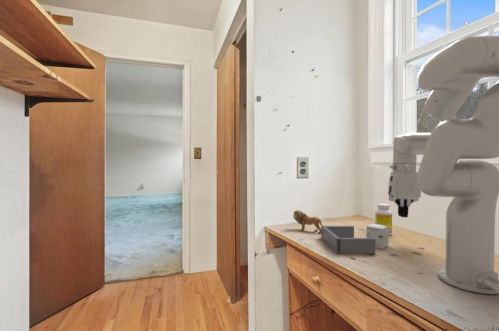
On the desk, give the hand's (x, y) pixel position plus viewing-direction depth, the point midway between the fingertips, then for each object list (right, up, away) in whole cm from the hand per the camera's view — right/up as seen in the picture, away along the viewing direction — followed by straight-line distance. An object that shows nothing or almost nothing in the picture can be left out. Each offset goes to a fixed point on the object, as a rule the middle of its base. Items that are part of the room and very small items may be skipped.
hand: (402, 216), depth 96 cm
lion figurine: (-32, -11, +18) cm, 38 cm away
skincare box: (-10, -11, -1) cm, 15 cm away
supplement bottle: (+1, -11, +15) cm, 19 cm away
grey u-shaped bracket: (-22, -11, -1) cm, 25 cm away
